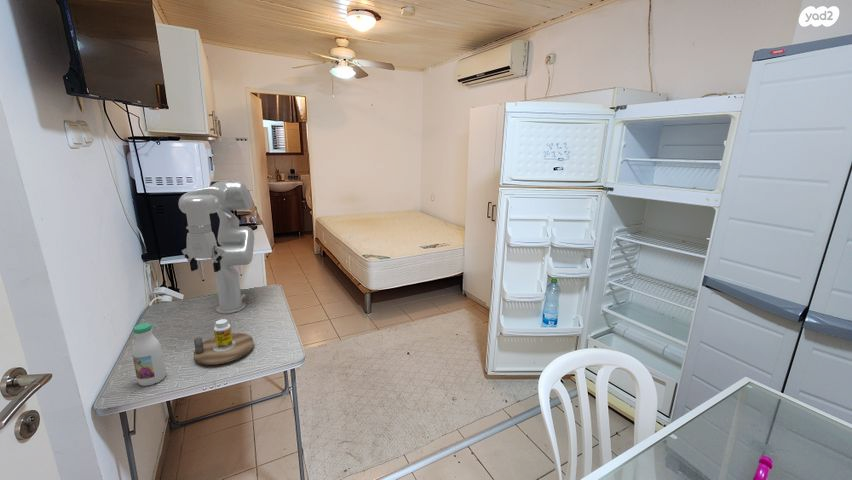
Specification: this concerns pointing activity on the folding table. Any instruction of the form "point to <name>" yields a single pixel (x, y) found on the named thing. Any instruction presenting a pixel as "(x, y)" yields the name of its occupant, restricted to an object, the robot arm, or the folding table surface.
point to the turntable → (214, 355)
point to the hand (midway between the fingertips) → (206, 270)
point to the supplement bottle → (223, 334)
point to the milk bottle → (147, 356)
